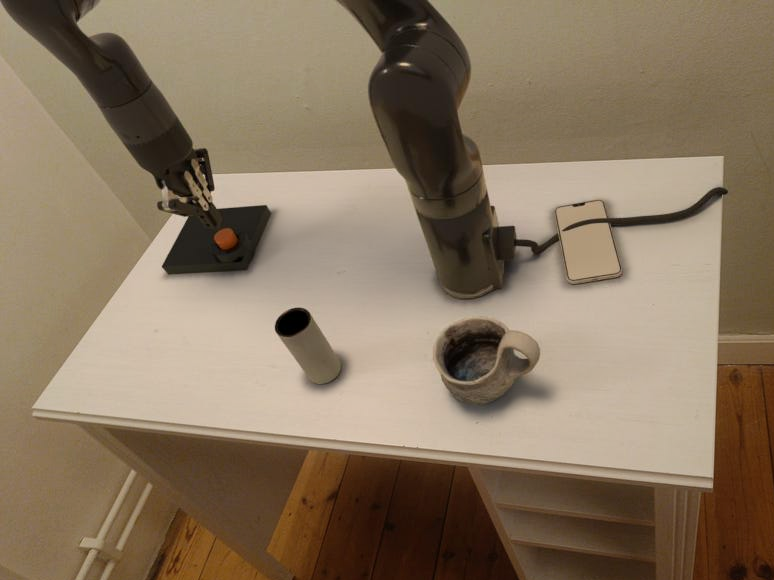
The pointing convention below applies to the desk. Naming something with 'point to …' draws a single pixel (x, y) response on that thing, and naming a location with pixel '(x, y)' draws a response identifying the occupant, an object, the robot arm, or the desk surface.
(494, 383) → the mug
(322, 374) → the grey cylinder
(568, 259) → the smartphone
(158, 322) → the desk surface
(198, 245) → the dark grey flat block
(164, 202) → the robot arm
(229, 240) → the button
